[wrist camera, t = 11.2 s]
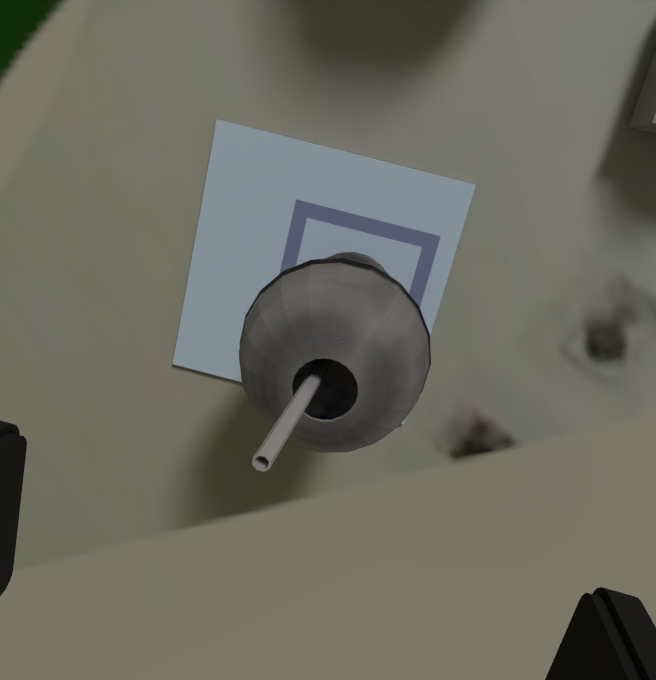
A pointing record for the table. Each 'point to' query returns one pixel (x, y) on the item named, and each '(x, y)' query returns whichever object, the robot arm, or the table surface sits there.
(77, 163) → the table surface
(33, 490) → the table surface
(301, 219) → the paper
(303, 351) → the beverage cup
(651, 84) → the button housing
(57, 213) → the table surface
